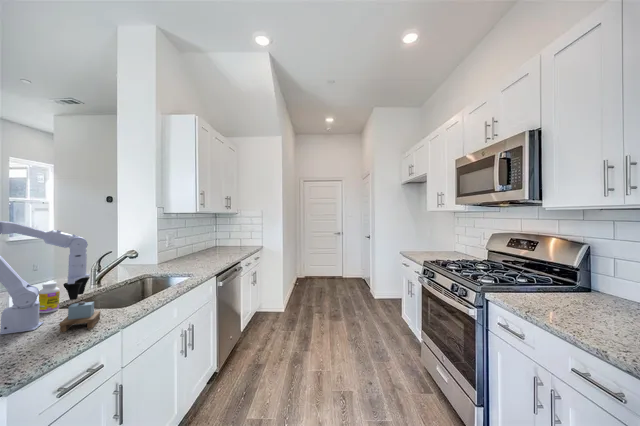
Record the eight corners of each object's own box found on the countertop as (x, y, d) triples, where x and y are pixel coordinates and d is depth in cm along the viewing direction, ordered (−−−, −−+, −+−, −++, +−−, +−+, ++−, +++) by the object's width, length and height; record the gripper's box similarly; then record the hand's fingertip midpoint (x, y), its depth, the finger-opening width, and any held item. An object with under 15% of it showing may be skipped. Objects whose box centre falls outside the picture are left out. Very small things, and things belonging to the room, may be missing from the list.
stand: (59, 332, 100) (59, 323, 100) (69, 322, 109) (69, 314, 109) (93, 328, 105) (93, 319, 105) (100, 318, 113) (100, 310, 114)
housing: (68, 319, 103) (68, 305, 103) (71, 316, 107) (72, 301, 107) (90, 317, 107) (91, 302, 107) (93, 313, 110) (94, 299, 110)
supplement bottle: (45, 314, 117) (46, 285, 117) (34, 313, 118) (35, 284, 118) (63, 309, 123) (63, 281, 123) (52, 308, 125) (52, 280, 125)
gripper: (84, 267, 108) (83, 300, 108) (94, 261, 121) (94, 291, 121) (61, 268, 105) (60, 303, 105) (74, 262, 118) (73, 293, 118)
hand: (76, 296), depth 113 cm, fingers open, 7 cm apart
